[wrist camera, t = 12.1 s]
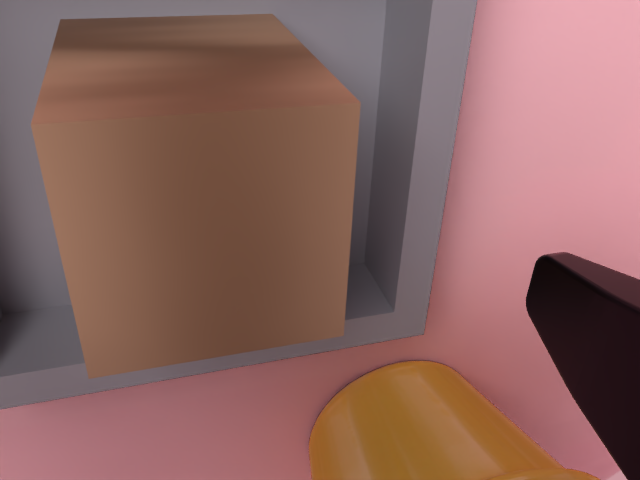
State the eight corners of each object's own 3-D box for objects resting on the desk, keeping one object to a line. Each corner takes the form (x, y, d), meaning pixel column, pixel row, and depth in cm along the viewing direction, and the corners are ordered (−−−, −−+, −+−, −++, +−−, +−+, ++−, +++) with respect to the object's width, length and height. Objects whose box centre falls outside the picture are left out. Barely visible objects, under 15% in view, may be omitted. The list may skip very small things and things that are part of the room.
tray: (-218, -211, 10) (-318, -228, 8) (433, -175, 13) (506, -181, 11) (-26, 334, 17) (-49, 418, 14) (385, 274, 20) (423, 334, 17)
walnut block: (95, 208, 15) (89, 379, 10) (60, 19, 13) (30, 124, 8) (273, 190, 16) (343, 336, 11) (272, 13, 14) (360, 102, 9)
